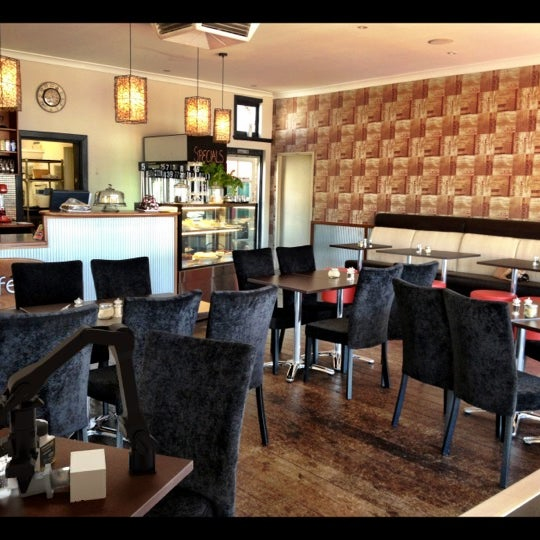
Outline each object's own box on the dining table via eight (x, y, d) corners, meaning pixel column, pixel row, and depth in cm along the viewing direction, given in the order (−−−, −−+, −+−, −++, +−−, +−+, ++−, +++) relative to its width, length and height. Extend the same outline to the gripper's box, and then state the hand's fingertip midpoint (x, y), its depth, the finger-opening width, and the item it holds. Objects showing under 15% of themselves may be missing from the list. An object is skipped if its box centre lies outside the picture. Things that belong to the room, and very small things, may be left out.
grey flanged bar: (79, 479, 145) (75, 457, 144) (79, 491, 139) (75, 467, 138) (23, 493, 141) (19, 470, 140) (20, 505, 135) (16, 481, 134)
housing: (104, 475, 149) (103, 448, 149) (105, 497, 138) (105, 468, 137) (71, 479, 147) (71, 452, 146) (70, 502, 136) (70, 472, 135)
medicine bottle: (40, 472, 150) (39, 428, 149) (16, 469, 152) (15, 425, 151) (55, 461, 157) (55, 418, 156) (32, 458, 159) (31, 415, 158)
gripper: (-9, 415, 143) (-8, 476, 144) (-22, 445, 125) (-20, 513, 127) (39, 412, 146) (40, 471, 148) (34, 440, 129) (35, 506, 130)
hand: (24, 489), depth 138 cm, fingers closed on grey flanged bar, 4 cm apart
